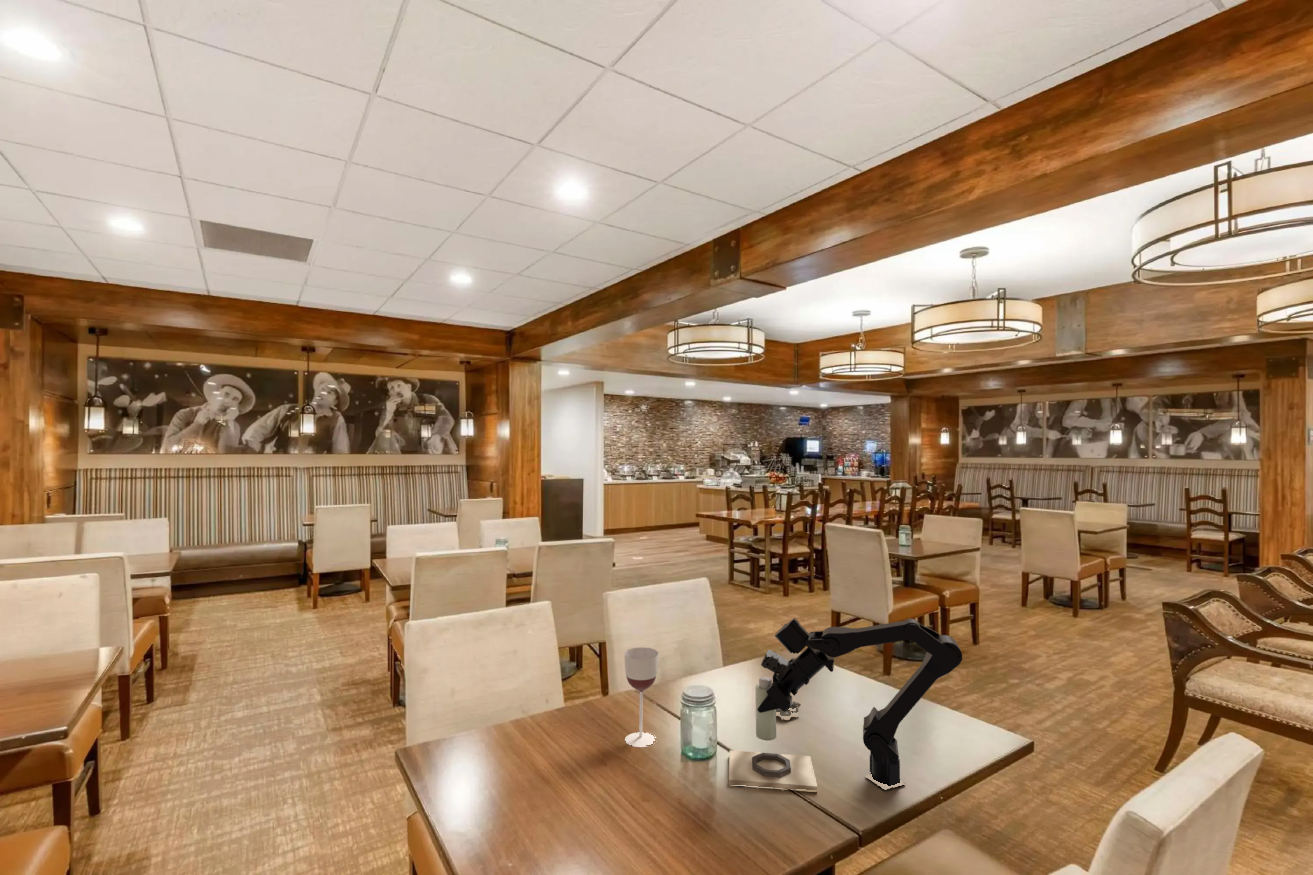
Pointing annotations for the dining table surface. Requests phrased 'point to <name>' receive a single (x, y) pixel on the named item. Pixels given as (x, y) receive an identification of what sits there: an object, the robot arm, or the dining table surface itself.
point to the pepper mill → (764, 713)
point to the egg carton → (794, 705)
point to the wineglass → (641, 686)
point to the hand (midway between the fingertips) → (760, 706)
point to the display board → (771, 770)
